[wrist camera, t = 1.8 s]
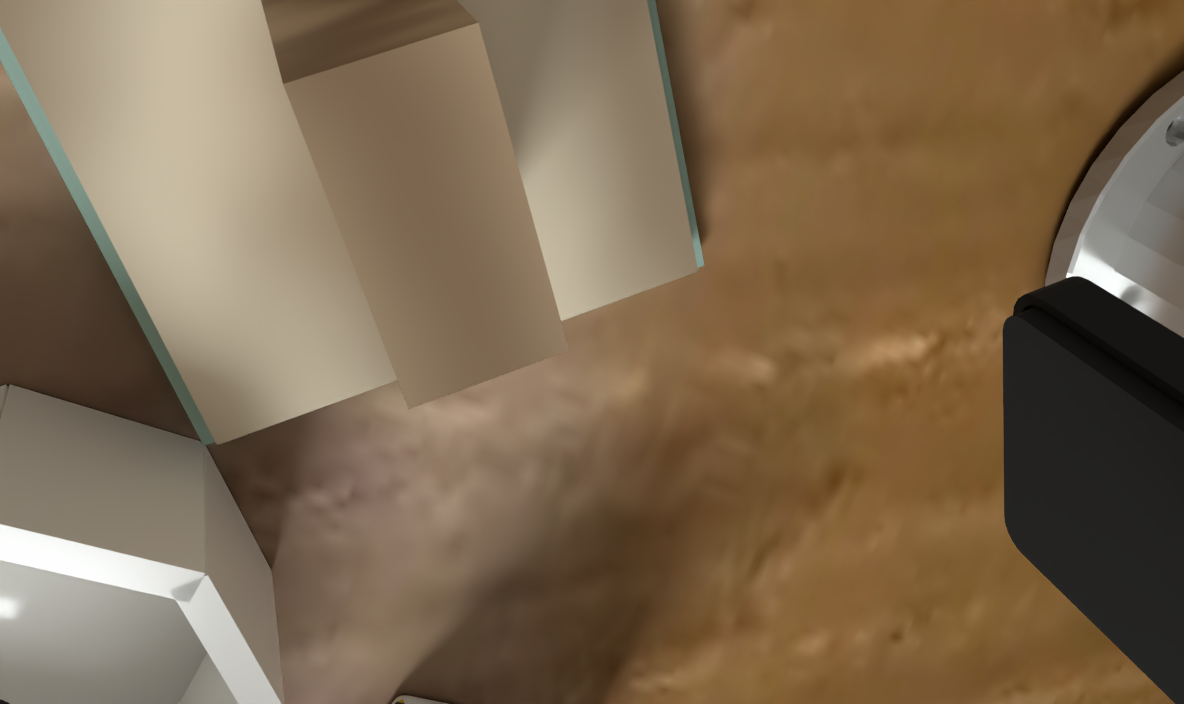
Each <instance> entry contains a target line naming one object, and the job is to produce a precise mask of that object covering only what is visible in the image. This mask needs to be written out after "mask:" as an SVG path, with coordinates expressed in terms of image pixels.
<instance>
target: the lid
mask: <svg viewBox="0 0 1184 704" xmlns="http://www.w3.org/2000/svg"><path fill="white" fill-rule="evenodd" d="M0 28H1V30H2V32H3V34H4V36H5V38H6V40H7V41H8V43H9V45H10V47H11V49H12V51H13V53H14V55H15V57H16V59H17V61H18V63H19V65H20V67H21V68H22V70H23V72H24V74H25V76H26V78H27V80H28V82H29V84H30V86H31V88H32V90H33V92H34V93H35V95H36V97H37V99H38V101H39V103H40V105H41V107H42V109H43V111H44V113H45V115H46V117H47V119H48V120H49V122H50V124H51V126H52V128H53V130H54V132H55V134H56V136H57V138H58V140H59V142H60V144H61V146H62V147H63V149H64V151H65V153H66V155H67V157H68V159H69V161H70V163H71V165H72V167H73V169H74V171H75V172H76V174H77V176H78V178H79V180H80V182H81V184H82V186H83V188H84V190H85V192H86V194H87V196H88V198H89V199H90V201H91V203H92V205H93V207H94V209H95V211H96V213H97V215H98V217H99V219H100V221H101V223H102V225H103V226H104V228H105V230H106V232H107V234H108V236H109V238H110V240H111V242H112V244H113V246H114V248H115V250H116V251H117V253H118V255H119V257H120V259H121V261H122V263H123V265H124V267H125V269H126V271H127V273H128V275H129V277H130V278H131V280H132V282H133V284H134V286H135V288H136V290H137V292H138V294H139V296H140V298H141V300H142V302H143V304H144V305H145V307H146V309H147V311H148V313H149V315H150V317H151V319H152V321H153V323H154V325H155V327H156V329H157V330H158V332H159V334H160V336H161V338H162V340H163V342H164V344H165V346H166V348H167V350H168V352H169V354H170V356H171V357H172V359H173V361H174V363H175V365H176V367H177V369H178V371H179V373H180V375H181V377H182V379H183V381H184V383H185V384H186V386H187V388H188V390H189V392H190V394H191V396H192V398H193V400H194V402H195V404H196V406H197V408H198V409H199V411H200V413H201V415H202V417H203V419H204V421H205V423H206V425H207V427H208V429H209V431H210V433H211V435H212V436H213V438H214V440H215V442H216V444H217V445H219V444H222V443H225V442H228V441H231V440H233V439H236V438H239V437H242V436H244V435H247V434H250V433H253V432H255V431H258V430H261V429H264V428H267V427H269V426H272V425H275V424H278V423H280V422H283V421H286V420H289V419H291V418H294V417H297V416H300V415H302V414H305V413H308V412H311V411H314V410H316V409H319V408H322V407H325V406H327V405H330V404H333V403H336V402H338V401H341V400H344V399H347V398H350V397H352V396H355V395H358V394H361V393H363V392H366V391H369V390H372V389H374V388H377V387H380V386H383V385H385V384H388V383H391V382H394V381H397V380H398V382H399V385H400V388H401V390H402V393H403V395H404V398H405V400H406V403H407V406H408V408H409V409H410V408H413V407H416V406H418V405H421V404H424V403H427V402H429V401H432V400H435V399H438V398H440V397H443V396H446V395H449V394H451V393H454V392H457V391H459V390H462V389H465V388H468V387H470V386H473V385H476V384H479V383H481V382H484V381H487V380H489V379H492V378H495V377H498V376H500V375H503V374H506V373H509V372H511V371H514V370H517V369H520V368H522V367H525V366H528V365H530V364H533V363H536V362H539V361H541V360H544V359H547V358H550V357H552V356H555V355H558V354H561V353H563V352H566V351H569V348H568V345H567V341H566V337H565V334H564V330H563V326H562V323H561V321H563V320H565V319H568V318H571V317H574V316H576V315H579V314H582V313H585V312H587V311H590V310H593V309H596V308H599V307H601V306H604V305H607V304H610V303H612V302H615V301H618V300H621V299H623V298H626V297H629V296H632V295H634V294H637V293H640V292H643V291H646V290H648V289H651V288H654V287H657V286H659V285H662V284H665V283H668V282H670V281H673V280H676V279H679V278H682V277H684V276H687V275H690V274H693V273H695V272H698V268H697V262H696V257H695V252H694V247H693V241H692V236H691V231H690V225H689V220H688V215H687V210H686V204H685V199H684V194H683V188H682V183H681V178H680V173H679V167H678V162H677V157H676V151H675V146H674V141H673V136H672V130H671V125H670V120H669V114H668V109H667V104H666V99H665V93H664V88H663V83H662V78H661V72H660V67H659V62H658V56H657V51H656V46H655V41H654V35H653V30H652V25H651V19H650V14H649V9H648V4H647V0H0Z"/></svg>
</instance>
